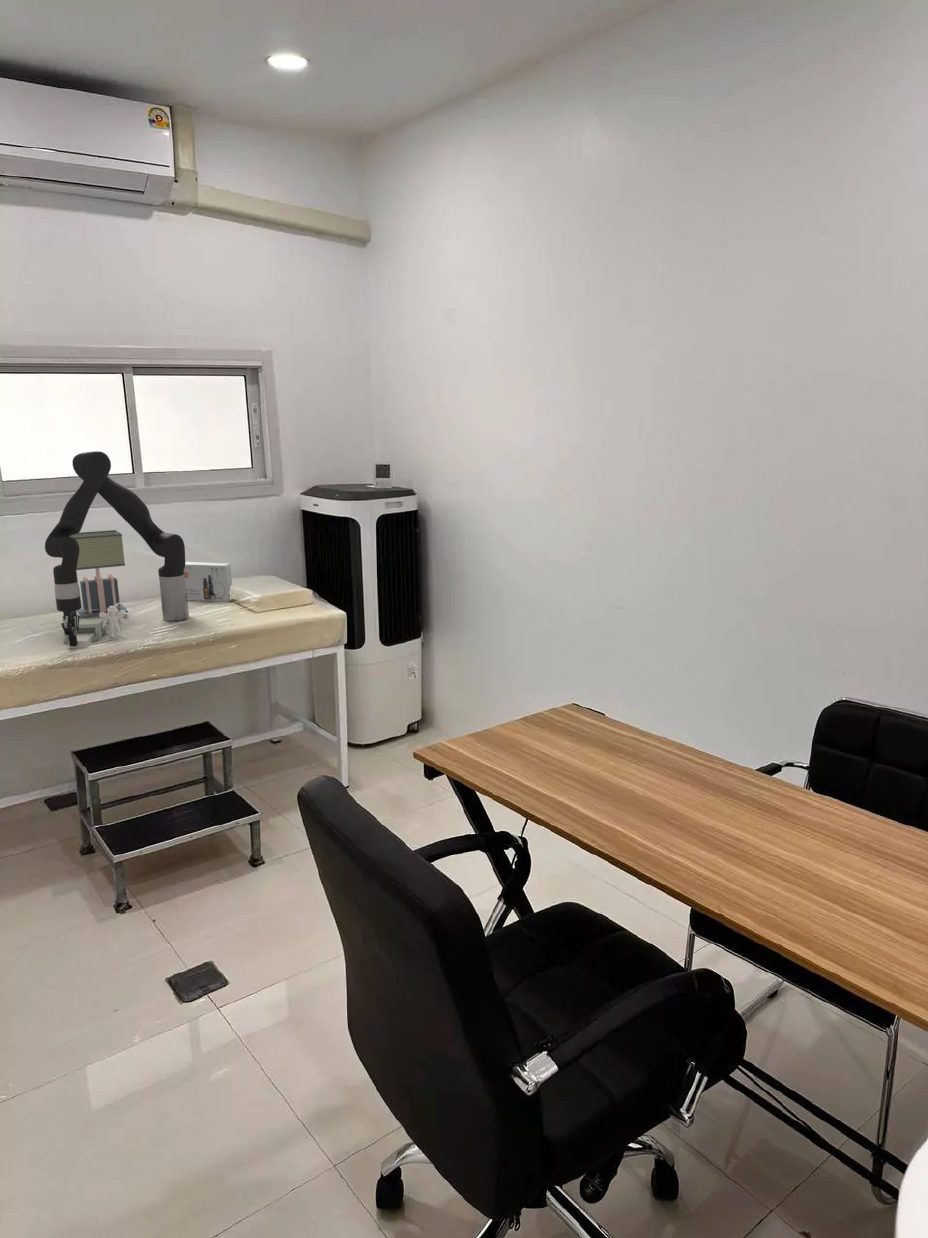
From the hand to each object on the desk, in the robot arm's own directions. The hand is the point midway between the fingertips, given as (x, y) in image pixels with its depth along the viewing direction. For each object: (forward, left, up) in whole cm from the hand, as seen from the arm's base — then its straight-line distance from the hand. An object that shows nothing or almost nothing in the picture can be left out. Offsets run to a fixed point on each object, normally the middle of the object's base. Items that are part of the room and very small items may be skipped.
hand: (73, 645), depth 279 cm
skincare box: (-35, -70, -1) cm, 78 cm away
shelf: (0, -14, -1) cm, 14 cm away
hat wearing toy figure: (-10, -15, -1) cm, 18 cm away
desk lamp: (+2, -47, -1) cm, 47 cm away
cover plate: (-1, -7, -2) cm, 7 cm away
